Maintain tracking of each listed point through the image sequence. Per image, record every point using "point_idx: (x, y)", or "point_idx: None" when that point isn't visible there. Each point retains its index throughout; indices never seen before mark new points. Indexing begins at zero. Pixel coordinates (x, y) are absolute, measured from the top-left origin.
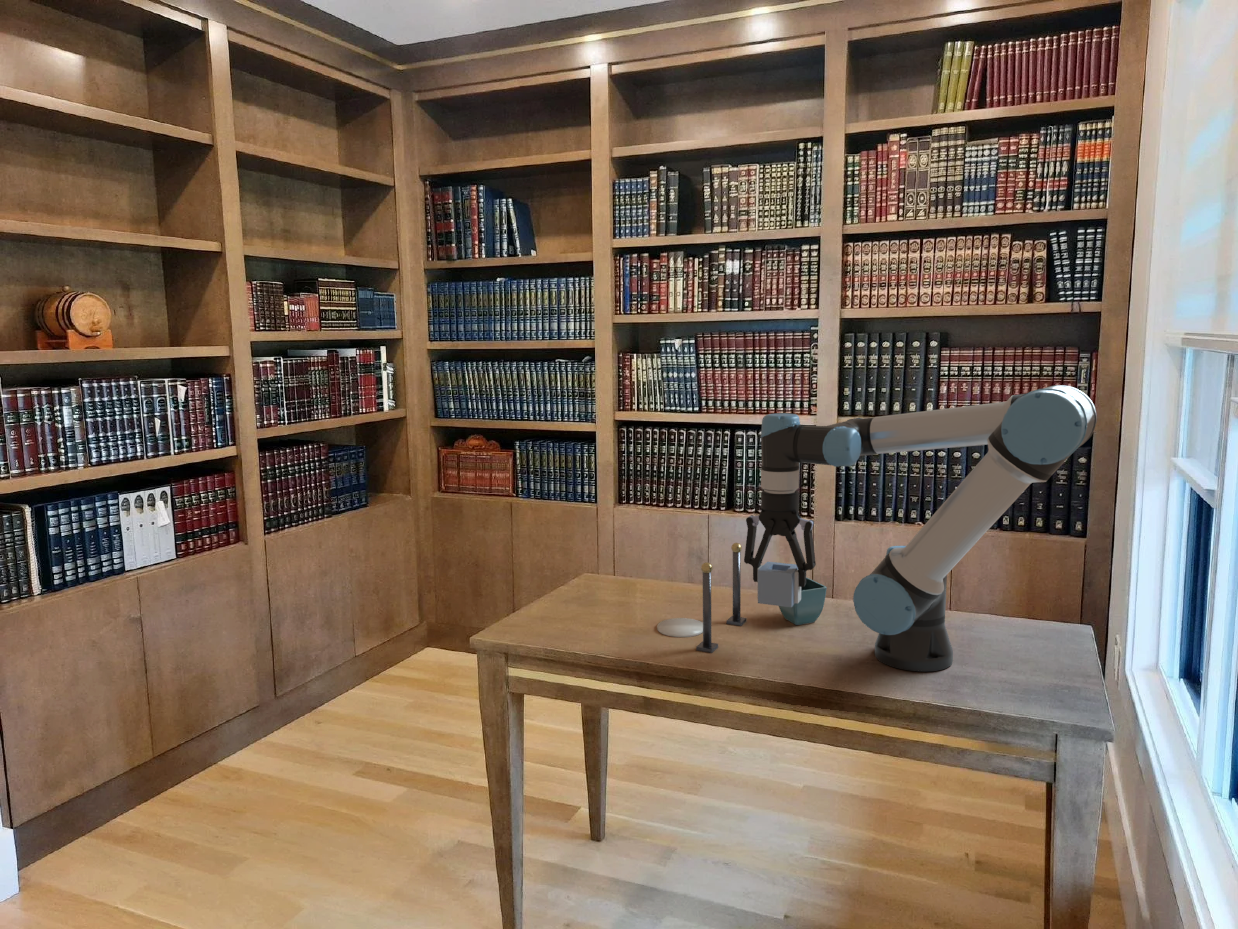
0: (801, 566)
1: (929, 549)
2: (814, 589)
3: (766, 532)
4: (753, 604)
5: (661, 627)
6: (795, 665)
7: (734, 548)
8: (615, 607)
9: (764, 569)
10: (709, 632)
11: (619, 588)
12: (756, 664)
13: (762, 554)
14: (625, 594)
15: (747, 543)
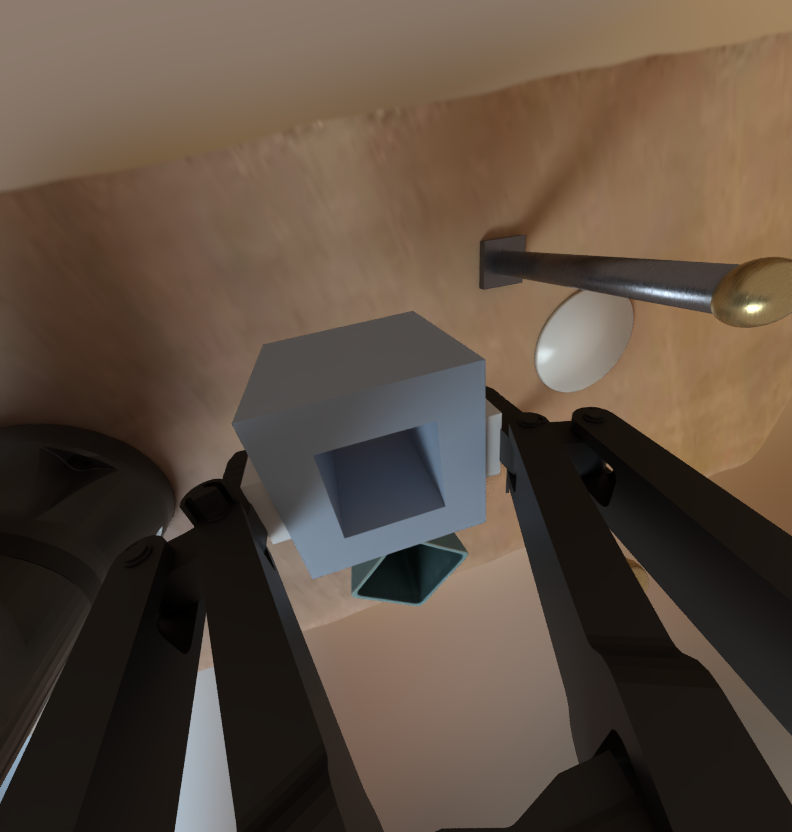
0: (209, 532)
1: None
2: (368, 572)
3: (736, 791)
4: (492, 516)
5: (623, 310)
6: (260, 290)
7: (633, 568)
8: (714, 364)
9: (451, 399)
10: (518, 260)
11: (709, 441)
12: (349, 233)
13: (530, 488)
14: (699, 426)
15: (730, 507)
